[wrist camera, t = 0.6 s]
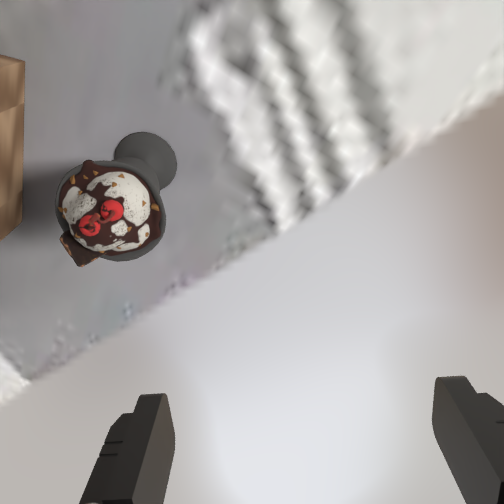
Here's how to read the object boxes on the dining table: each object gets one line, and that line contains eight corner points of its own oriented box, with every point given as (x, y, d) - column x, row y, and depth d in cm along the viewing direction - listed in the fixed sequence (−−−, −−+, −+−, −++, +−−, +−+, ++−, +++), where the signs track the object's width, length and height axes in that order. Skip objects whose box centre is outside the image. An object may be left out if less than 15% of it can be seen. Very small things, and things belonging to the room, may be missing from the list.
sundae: (175, 112, 34) (125, 179, 21) (195, 193, 37) (163, 296, 24) (92, 127, 34) (-7, 201, 21) (119, 206, 38) (47, 313, 24)
